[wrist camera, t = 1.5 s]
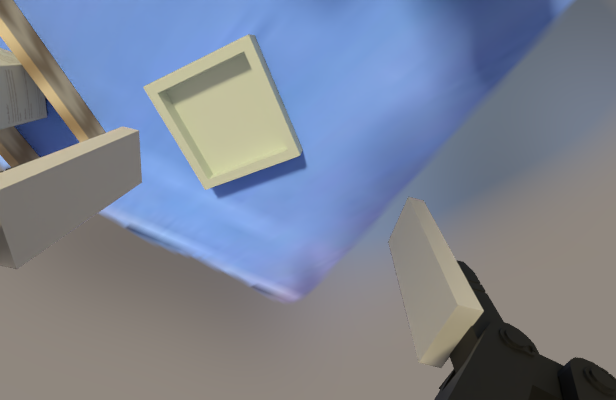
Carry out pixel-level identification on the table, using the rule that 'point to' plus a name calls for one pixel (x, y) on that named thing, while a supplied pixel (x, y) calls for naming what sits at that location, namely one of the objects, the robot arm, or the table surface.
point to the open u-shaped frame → (40, 86)
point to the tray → (226, 113)
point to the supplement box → (18, 93)
